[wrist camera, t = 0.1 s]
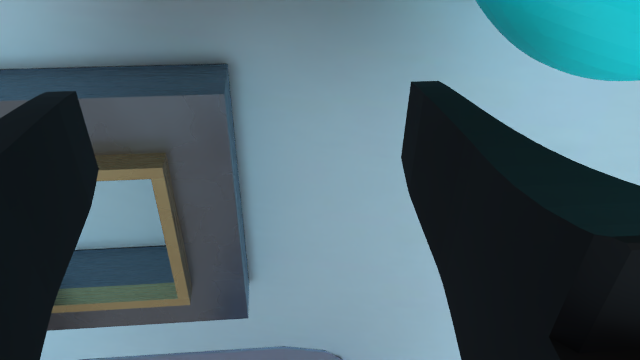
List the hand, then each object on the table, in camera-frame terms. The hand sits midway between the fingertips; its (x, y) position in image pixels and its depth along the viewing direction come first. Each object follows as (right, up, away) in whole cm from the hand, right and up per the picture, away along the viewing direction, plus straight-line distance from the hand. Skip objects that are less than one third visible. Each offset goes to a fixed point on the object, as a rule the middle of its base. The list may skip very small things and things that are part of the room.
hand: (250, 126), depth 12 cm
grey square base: (-9, -2, +13) cm, 16 cm away
